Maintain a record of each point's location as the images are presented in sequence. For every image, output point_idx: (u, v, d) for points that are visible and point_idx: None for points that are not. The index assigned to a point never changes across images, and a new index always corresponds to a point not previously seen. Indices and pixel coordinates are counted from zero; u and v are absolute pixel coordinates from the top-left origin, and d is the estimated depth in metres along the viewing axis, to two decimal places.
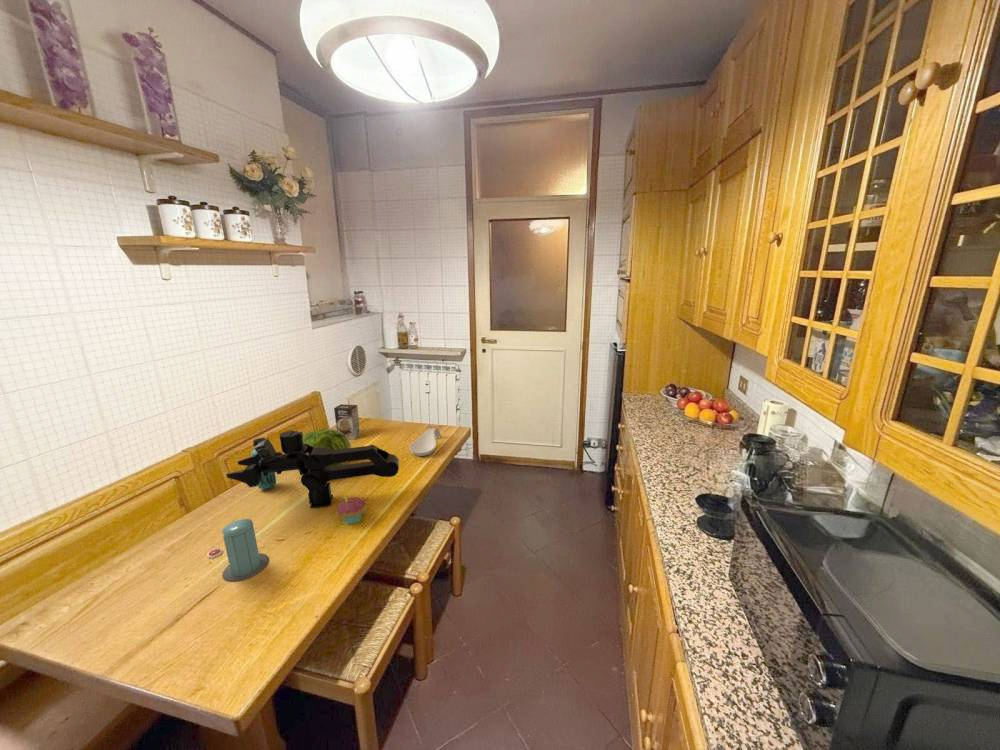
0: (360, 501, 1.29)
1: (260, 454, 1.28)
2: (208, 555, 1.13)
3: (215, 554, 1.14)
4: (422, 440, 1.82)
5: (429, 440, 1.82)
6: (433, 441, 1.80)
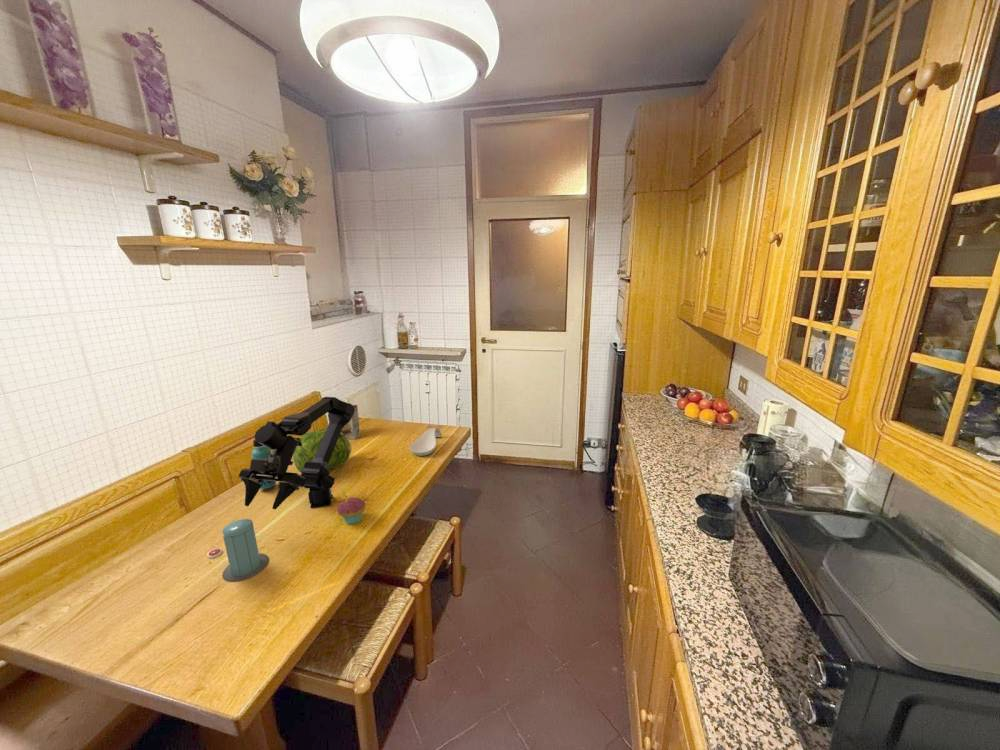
0: (360, 501, 1.29)
1: (275, 466, 1.13)
2: (208, 555, 1.13)
3: (215, 554, 1.14)
4: (422, 440, 1.82)
5: (429, 440, 1.82)
6: (433, 441, 1.80)
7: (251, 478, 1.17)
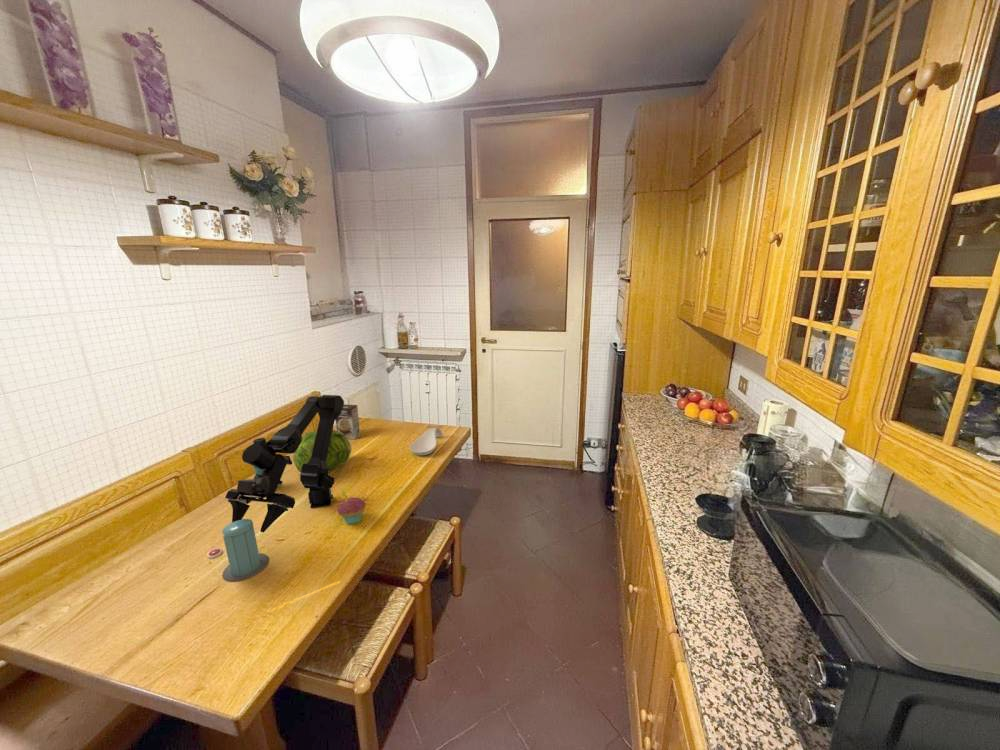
0: (360, 501, 1.29)
1: (263, 487, 1.09)
2: (208, 555, 1.13)
3: (215, 554, 1.14)
4: (423, 439, 1.83)
5: (430, 440, 1.83)
6: (434, 441, 1.80)
7: (238, 499, 1.13)
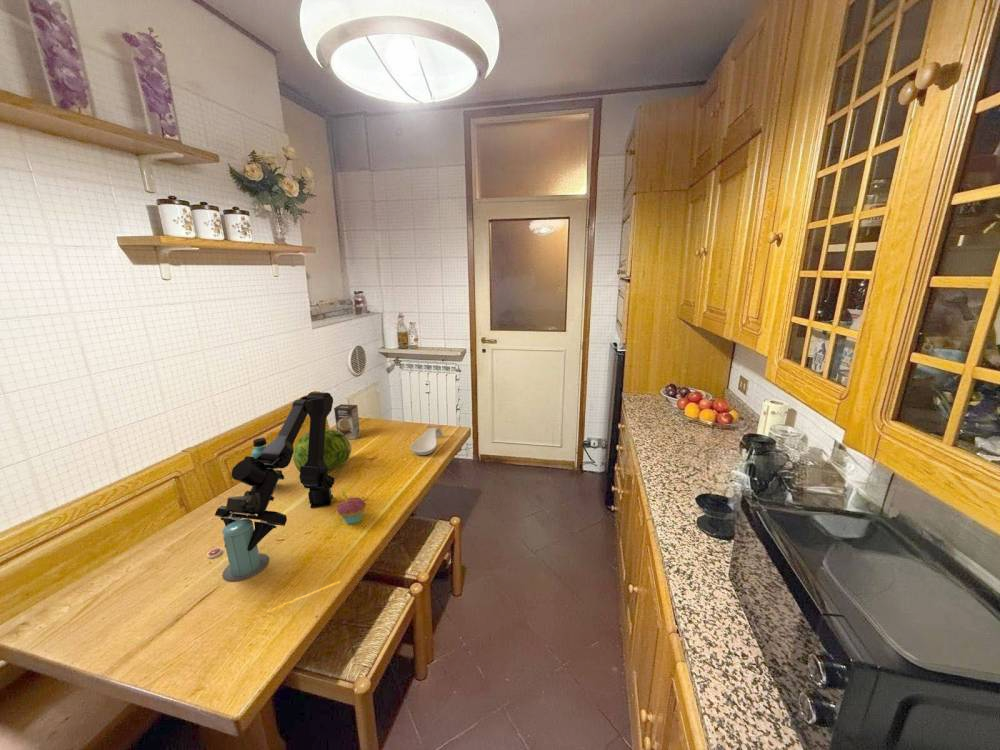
0: (360, 501, 1.29)
1: (253, 505, 1.06)
2: (208, 555, 1.13)
3: (216, 553, 1.14)
4: (423, 439, 1.83)
5: (430, 439, 1.83)
6: (434, 440, 1.81)
7: (232, 517, 1.09)
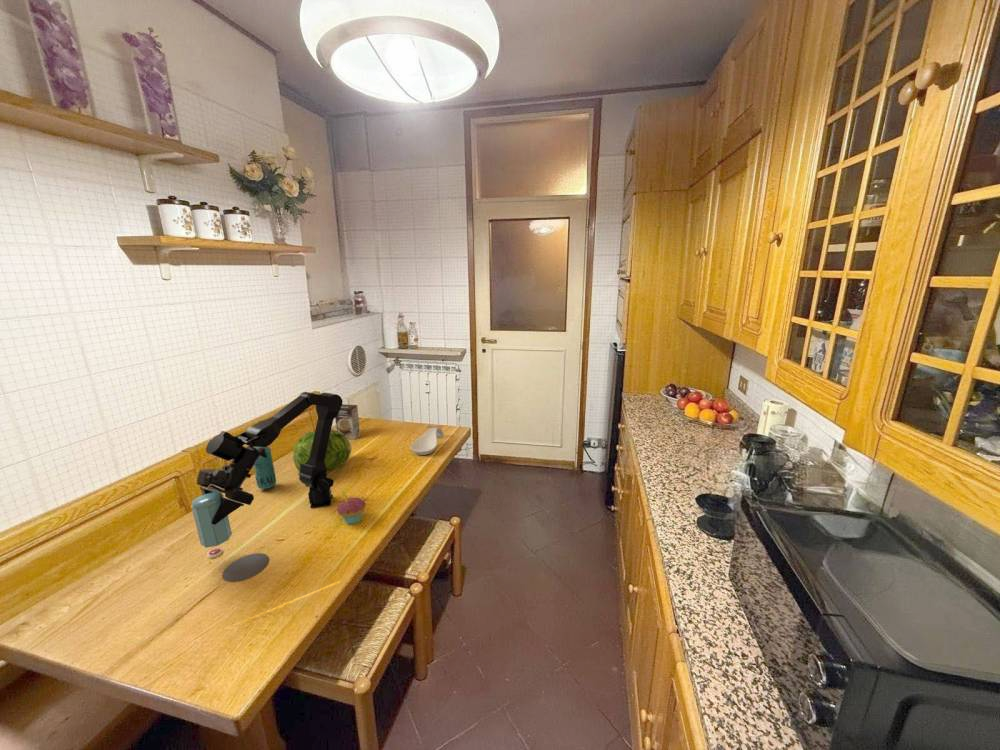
0: (360, 501, 1.29)
1: (219, 480, 1.06)
2: (210, 555, 1.13)
3: (218, 552, 1.14)
4: (424, 439, 1.83)
5: (431, 439, 1.83)
6: (434, 440, 1.81)
7: (209, 488, 1.12)
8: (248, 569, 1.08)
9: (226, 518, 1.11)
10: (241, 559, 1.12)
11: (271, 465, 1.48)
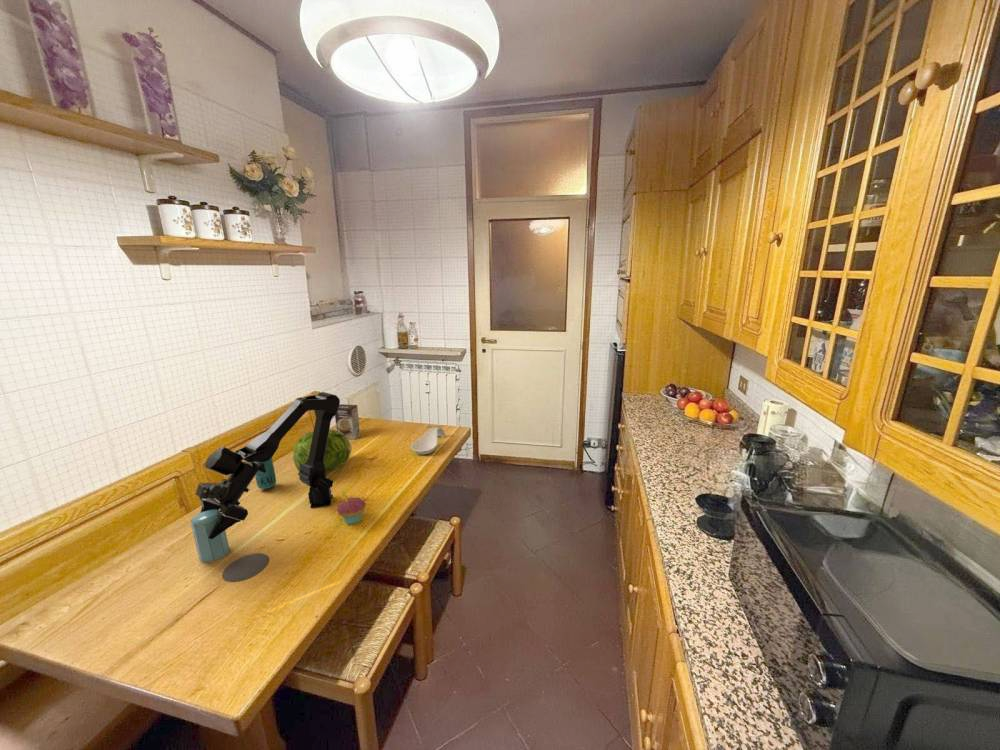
0: (360, 501, 1.29)
1: (215, 495, 1.09)
2: None
3: None
4: (425, 439, 1.84)
5: (431, 439, 1.83)
6: (435, 440, 1.81)
7: (208, 499, 1.17)
8: (248, 569, 1.08)
9: (223, 535, 1.14)
10: (241, 559, 1.12)
11: (271, 465, 1.48)
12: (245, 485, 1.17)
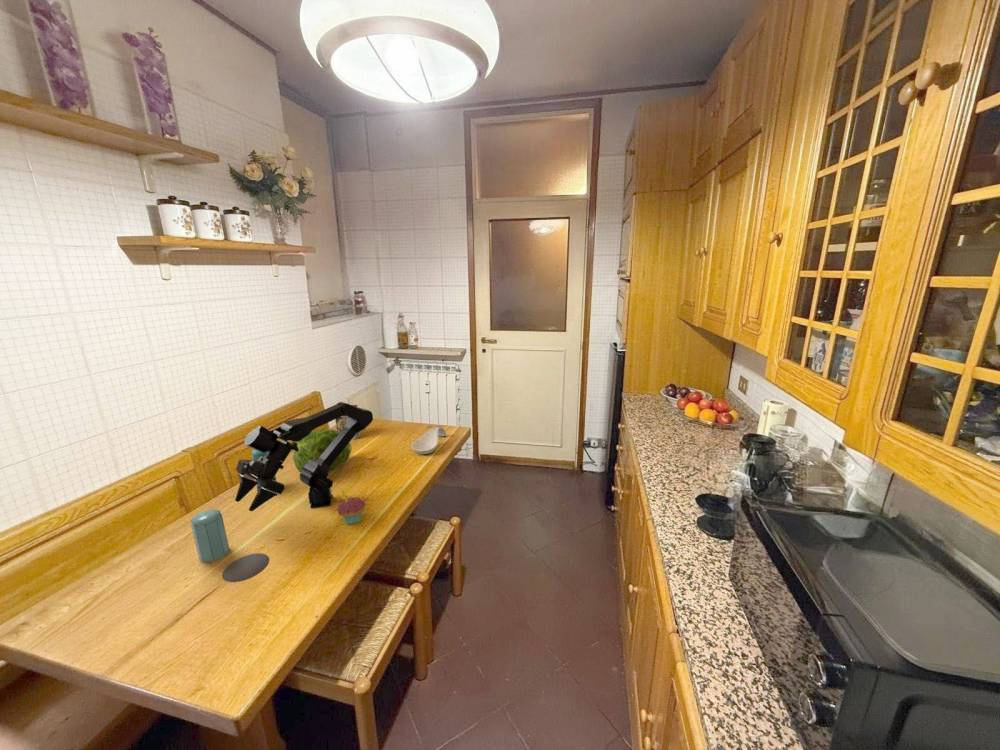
0: (360, 501, 1.29)
1: (255, 470, 1.17)
2: None
3: None
4: (425, 438, 1.84)
5: (432, 439, 1.84)
6: (435, 440, 1.81)
7: (246, 476, 1.24)
8: (248, 569, 1.08)
9: (223, 535, 1.14)
10: (241, 559, 1.12)
11: None
12: (280, 462, 1.25)
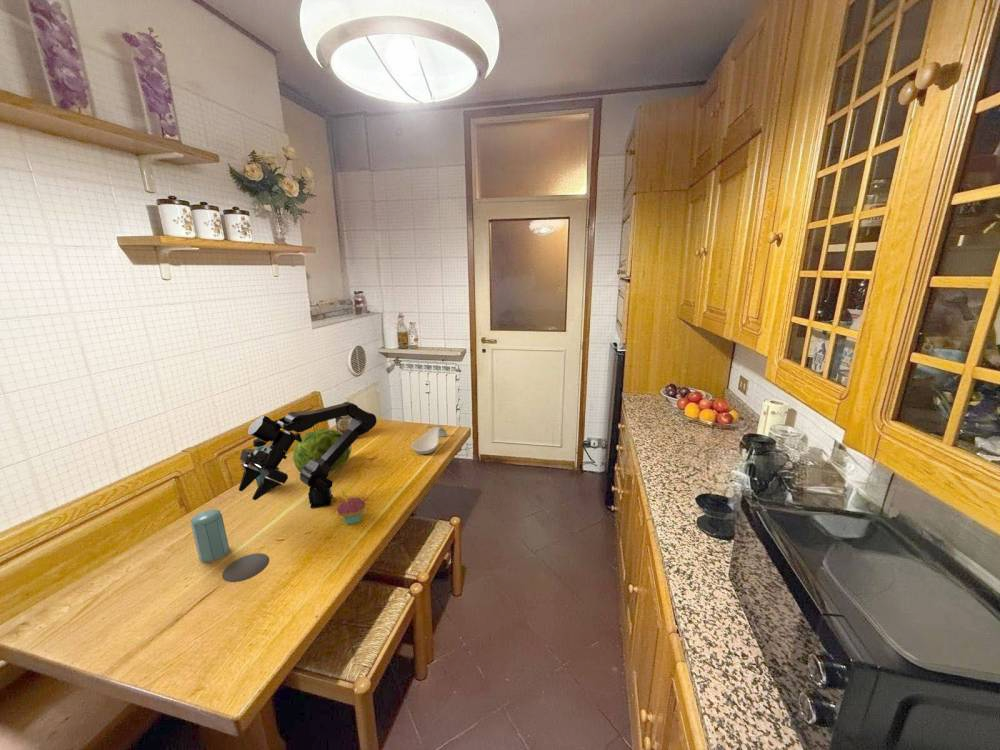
0: (360, 501, 1.29)
1: (258, 459, 1.18)
2: None
3: None
4: (426, 438, 1.84)
5: (433, 438, 1.84)
6: (436, 440, 1.82)
7: (249, 465, 1.25)
8: (248, 569, 1.08)
9: (223, 535, 1.14)
10: (241, 559, 1.12)
11: None
12: (284, 452, 1.25)
